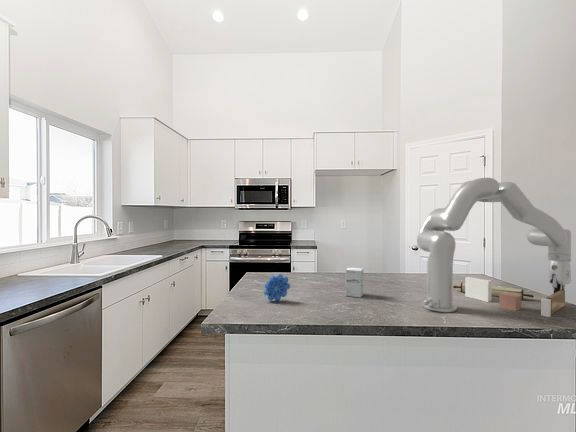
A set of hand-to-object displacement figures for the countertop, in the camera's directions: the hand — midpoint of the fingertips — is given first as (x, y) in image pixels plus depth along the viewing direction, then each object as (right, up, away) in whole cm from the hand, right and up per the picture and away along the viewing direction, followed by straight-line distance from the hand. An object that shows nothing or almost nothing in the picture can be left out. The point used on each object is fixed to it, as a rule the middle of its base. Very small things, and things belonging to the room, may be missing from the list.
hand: (558, 299), depth 136 cm
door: (-9, -2, -9) cm, 13 cm away
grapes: (-122, -2, +4) cm, 122 cm away
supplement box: (-85, -2, +13) cm, 87 cm away
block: (-25, -2, -6) cm, 26 cm away
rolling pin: (-21, -2, +13) cm, 25 cm away
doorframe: (-25, -2, -2) cm, 26 cm away
